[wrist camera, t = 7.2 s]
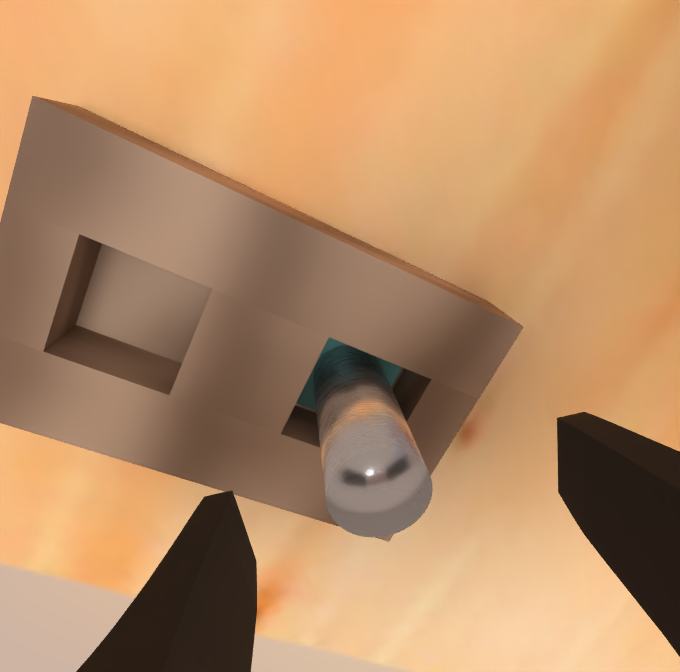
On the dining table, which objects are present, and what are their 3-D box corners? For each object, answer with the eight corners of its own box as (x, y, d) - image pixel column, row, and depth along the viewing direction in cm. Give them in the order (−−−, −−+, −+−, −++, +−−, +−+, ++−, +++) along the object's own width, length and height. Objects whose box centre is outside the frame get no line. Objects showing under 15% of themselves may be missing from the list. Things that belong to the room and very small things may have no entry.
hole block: (488, 301, 19) (523, 327, 16) (375, 492, 22) (389, 541, 19) (78, 106, 15) (32, 95, 12) (4, 368, 18) (-47, 408, 15)
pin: (378, 338, 18) (428, 439, 12) (386, 401, 19) (436, 525, 13) (306, 351, 18) (317, 460, 12) (319, 413, 19) (334, 546, 13)
